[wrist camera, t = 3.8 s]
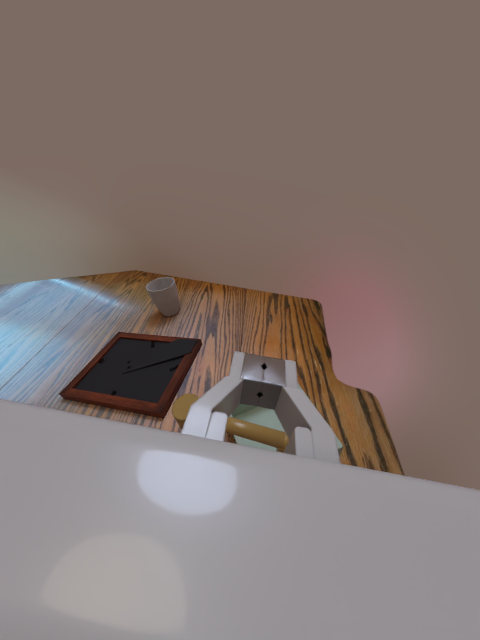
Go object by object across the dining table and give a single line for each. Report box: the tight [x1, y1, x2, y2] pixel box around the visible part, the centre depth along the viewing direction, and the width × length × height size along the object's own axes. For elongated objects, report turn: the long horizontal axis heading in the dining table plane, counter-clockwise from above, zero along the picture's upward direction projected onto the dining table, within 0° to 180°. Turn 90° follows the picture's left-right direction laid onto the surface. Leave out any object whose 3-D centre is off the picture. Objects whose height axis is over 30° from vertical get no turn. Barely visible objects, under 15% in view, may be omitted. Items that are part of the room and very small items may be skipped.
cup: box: [146, 277, 179, 316], centre depth 68 cm, size 8×8×10 cm
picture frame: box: [60, 332, 202, 418], centre depth 53 cm, size 20×2×25 cm
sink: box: [229, 384, 343, 457], centre depth 37 cm, size 14×14×5 cm
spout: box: [172, 394, 289, 453], centre depth 25 cm, size 14×3×4 cm, turn 71°
